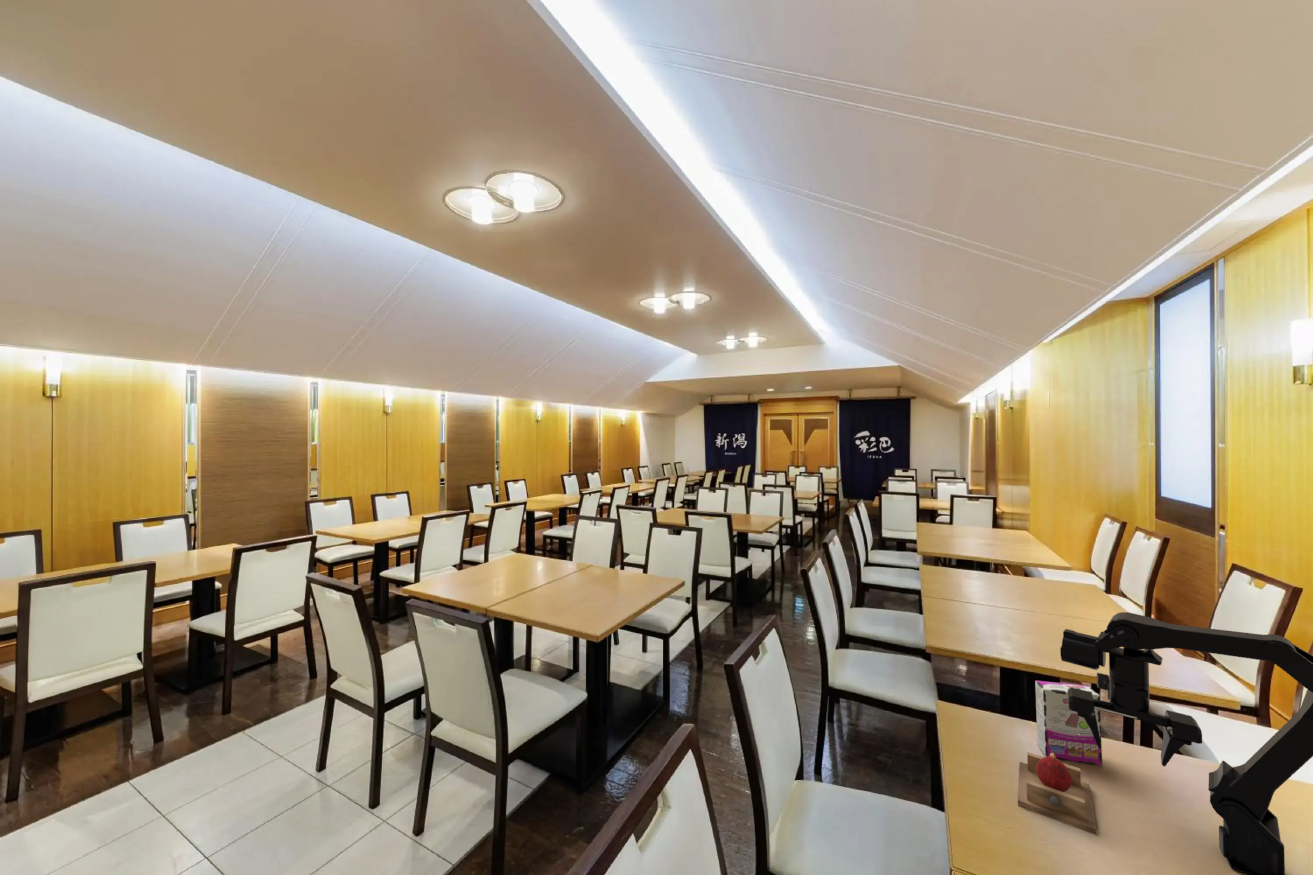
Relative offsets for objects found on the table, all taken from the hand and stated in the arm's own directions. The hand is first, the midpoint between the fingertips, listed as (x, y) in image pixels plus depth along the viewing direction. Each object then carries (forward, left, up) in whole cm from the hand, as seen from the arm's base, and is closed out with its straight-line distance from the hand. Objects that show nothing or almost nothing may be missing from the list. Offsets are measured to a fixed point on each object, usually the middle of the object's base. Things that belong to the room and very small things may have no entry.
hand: (1130, 755), depth 96 cm
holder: (+12, +3, -12) cm, 17 cm away
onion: (+12, +3, -11) cm, 17 cm away
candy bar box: (+9, -16, -12) cm, 22 cm away
